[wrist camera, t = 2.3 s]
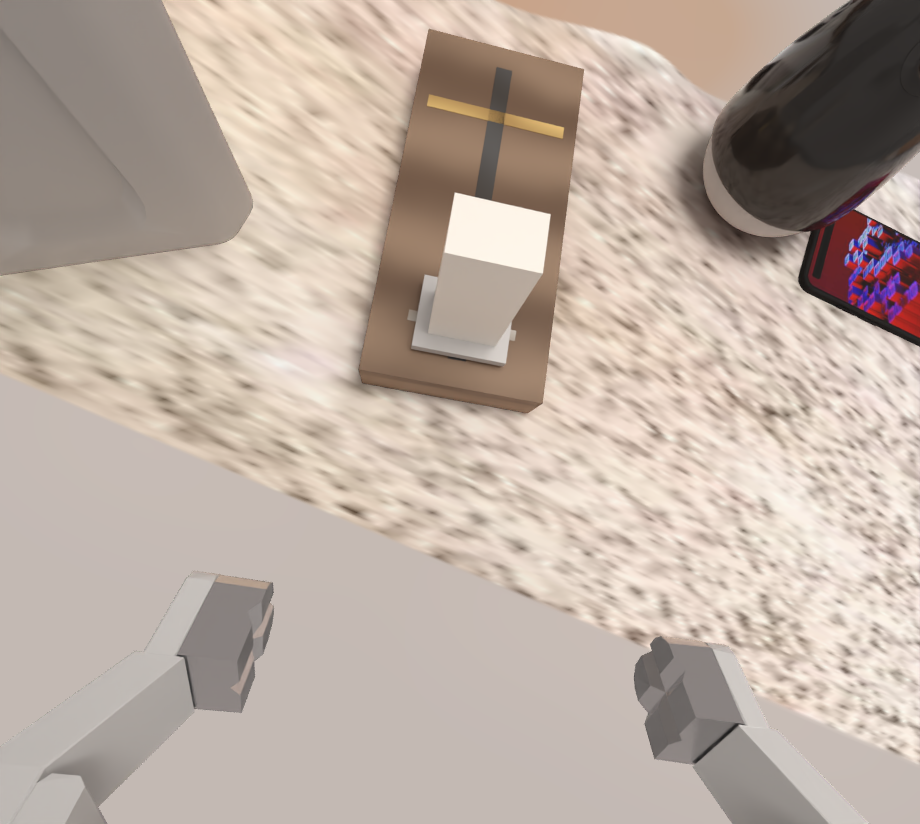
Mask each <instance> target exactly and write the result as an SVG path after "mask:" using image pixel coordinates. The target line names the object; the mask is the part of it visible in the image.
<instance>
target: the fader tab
mask: <svg viewBox="0 0 920 824" xmlns="http://www.w3.org/2000/svg"><path fill="white" fill-rule="evenodd" d="M550 216H551V214H547V213H543V212H538V211H534V210H530V209H525V208H521V207H516V206H512V205H508V204H503V203H499V202H494V201H490V200H486V199H481V198H477V197H472V196H468V195H464V194H459V193H455V195H454V200H453V205H452V210H451V215H450V220H449V225H448V230H447V235H446V240H445V245H444V250H443V255H442V260H441V265H440V270H439V275H438V277H434V276H429V275H425V276H424V281H423V287H422V292H421V297H420V303H419V308H418V314H417V319H416V324H415V330H414V335H413V341H412V346H411V349H414V350H419V351H424V352H430V353H435V354H440V355H445V356H450V357H456V358H461V359H466V360H471V361H476V362H482V363H487V364H492V365H497V366H502V367H503V366H504V365H505V364H506V359H507V352H508V345H509V338H510V331H511V324H512V320H513V318H514V317H515V315H516V314H517V312H518V311H519V309H520V308H521V306H522V305H523V303H524V302H525V300H526V299H527V297H528V296H529V294H530V293H531V291H532V289H533V288H534V286H535V285H536V283H537V282H538V280H539V279H540V277H541V276H542V274H543V269H544V261H545V254H546V246H547V239H548V231H549V223H550Z"/></svg>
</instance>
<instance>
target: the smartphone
mask: <svg viewBox="0 0 920 824" xmlns="http://www.w3.org/2000/svg"><path fill="white" fill-rule="evenodd" d="M799 284H800V286H801V288H802V289H803V290H804V291H805V292H807V293H809V294H811V295H813V296H815V297H817V298H819V299H821V300H823V301H826V302H828V303H830V304H832V305H834V306H836V307H838V308H840V309H842V310H844V311H847V312H849V313H851V314H853V315H855V316H857V317H859V318H861V319H863V320H865V321H867V322H869V323H871V324H874V325H876V326H878V327H880V328H882V329H884V330H886V331H888V332H891V333H893V334H895V335H897V336H899V337H901V338H903V339H905V340H907V341H909V342H912V343H914V344H916V345H918V346H920V242H918V241H916V240H914V239H912V238H910V237H908V236H906V235H904V234H902V233H900V232H898V231H896V230H894V229H892V228H890V227H888V226H886V225H884V224H882V223H880V222H878V221H876V220H874V219H872V218H870V217H868V216H866V215H864V214H862V213H860V212H858V211H856V210H853V211H851V212H850V213H848V214H847V215H846V216H844V217H843V218H841V219H839V220H838V221H836V222H835V223H833V224H831V225H829V226H827V227H824V228H822V229H818V230H814V231H811V235H810V238H809V242H808V245H807V249H806V253H805V256H804V260H803V263H802V267H801V270H800V274H799Z"/></svg>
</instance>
